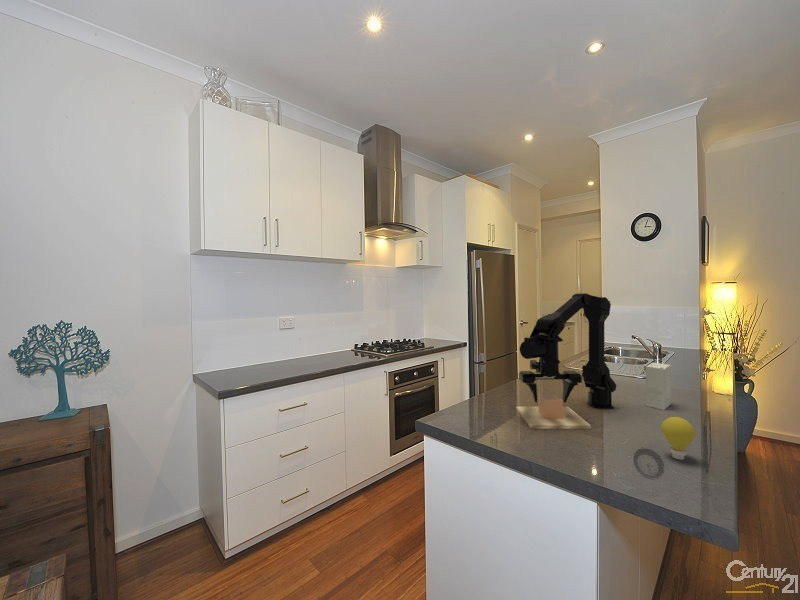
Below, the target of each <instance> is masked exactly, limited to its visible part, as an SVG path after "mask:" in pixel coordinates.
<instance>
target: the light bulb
mask: <svg viewBox="0 0 800 600" xmlns="http://www.w3.org/2000/svg"><path fill="white" fill-rule="evenodd" d="M660 430H661V433H662V434H663V436H664V438H665V440H666V441H667V443H669V445H670V448H669V453H671V457H672V458H673V459H676V460H685V457H686V456H687V450H686V448H688V446H690V444H691V443H692V442H693V441H694V439H695V438H696V432H695V431H696V430H695V428H694V427H693V425H692V423H690V422H689V421H688V420H686V419H684V418H682V417H680V416H679V417H678V416H671V417H668V418H665V419H664V420H663V422H662V423H661V427H660Z"/></svg>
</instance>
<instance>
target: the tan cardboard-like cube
mask: <svg viewBox="0 0 800 600" xmlns="http://www.w3.org/2000/svg"><path fill="white" fill-rule="evenodd" d="M537 403H538V404H537V405H538V407H539V413H540V414H541V415H542V416H543V418H544V419H564V418H563V407H564V402H563V398H561V397H560V396H558V395H557V394H537Z"/></svg>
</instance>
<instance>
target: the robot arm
mask: <svg viewBox="0 0 800 600" xmlns="http://www.w3.org/2000/svg"><path fill="white" fill-rule="evenodd" d="M611 305H612V304H611V301H610V300H609V299H608V298H607V297H605V296H604V297H603V296H596V295H591V294H589V293H583V292H582V293H574V294H573V295H572V296H571V297H570V298H569V299H568V300H566V301H565V302H564V304H562V305H561V306H559V308H558V309H556V310H555V311H554V312H552V313H549V314H546V315H543V316H541V317H539V318H538V319H537V320H536V321H535V323H536V324H535V325H534V327H533V329H532V331H531V333H530V334H529V337H524V339H523V341H522V342H521V343H520V346H519V353H520V356H522V358H524V359H525V360H529V359H530V360H529V367H530V370H521V371H519V373H518V379H519V380H520V381H521V382H522V383H524V384H525V385H526V386H528V388H529V390H530V392H531V394H532V398H533V400H534V403H536V404H537V403H538V390H537V389H538V386H537V383H536V380H542V381H543V380H561V381H562V385H563V386H562V387H563V388H562V400H563V404H565V403H566V402H567V400H568V399H569V397H570V395H571V392H572V391H573V390H574V388H575V386H578V385H579V383H584V385H585V388H589V391H588V393H587V394H588V395H587V396H588V399H587V400H588V401H587V403H588V405H591V406H592V407H593V408H595V409H614V408H615V406H614V405H612V403H613V400H612V393H614V392H615V391H616V390H617V384H616V383H615V381H614V380H613V379H612V377H611V374H610V369H609V367H608V365H607V364H606V362H605V322H606V320H607V318H609V316H610V313H611V307H612V306H611ZM582 309H583V315H584V316H585V318H586V319H587V321H588V361H587V362H586V363H585V364H584V365H583V366H582V367H581V368H582V369H581V370H582V374H581V373H579V372H577V371H575V370H564V371H563V372H562V373H560V372H559V371H560V365H559V364H560V363H561V360H560V359H559V343H561V342H563V341H564V340H563V338H562V337H560V334H561V333H562V332H563V331H564V329H565V328H566V327H565V326H566V323H567V322H568V321H569V320H570V319H571V318H572V317H574V316H575V315H576V314H577V313H578V312H579V311H581V310H582ZM537 359H538V361H537ZM531 370H535V373H534V372H533V371H531ZM583 381H584V382H583Z"/></svg>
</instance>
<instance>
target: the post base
mask: <svg viewBox="0 0 800 600" xmlns="http://www.w3.org/2000/svg"><path fill="white" fill-rule="evenodd" d="M515 409H516V412H518V414H520V416H521V417H522V419H523V420H524V422H525V424H527V426H528V427H529V428H530V429H531V430H532V429H533V430H535V429H537V430H538V429H541V430H542V429H549V430H551V429H555V430H567V429H568V430H591V429H592V424H590V423H589V422H587V421H586V420H585V419H584V418H583V417H581V416H580V415H579V414H577V413H576V412H575V411H574V410H573V409H571V408H570V407H569V406H563V418H564V419H544V418H543V416H542V415H541V414H540V413H539V406H516V408H515Z"/></svg>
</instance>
